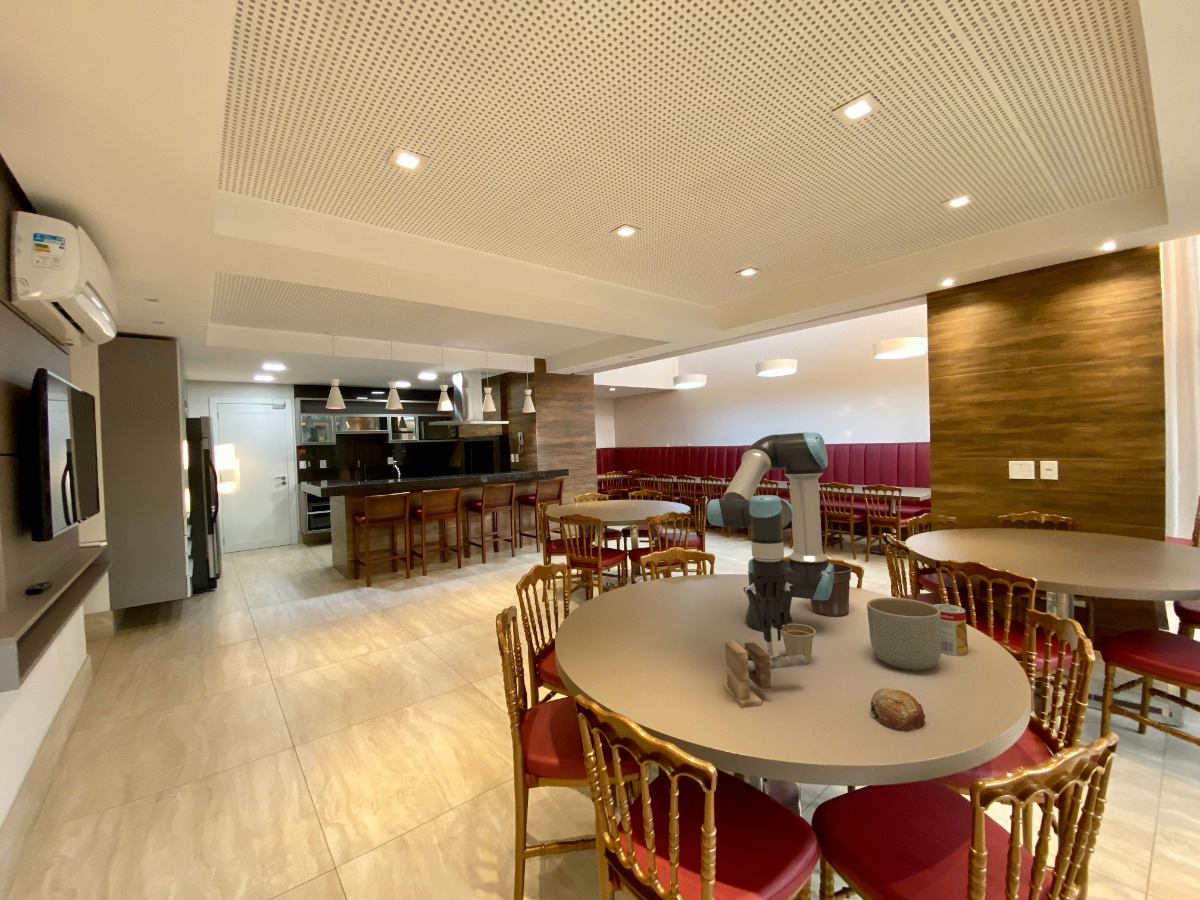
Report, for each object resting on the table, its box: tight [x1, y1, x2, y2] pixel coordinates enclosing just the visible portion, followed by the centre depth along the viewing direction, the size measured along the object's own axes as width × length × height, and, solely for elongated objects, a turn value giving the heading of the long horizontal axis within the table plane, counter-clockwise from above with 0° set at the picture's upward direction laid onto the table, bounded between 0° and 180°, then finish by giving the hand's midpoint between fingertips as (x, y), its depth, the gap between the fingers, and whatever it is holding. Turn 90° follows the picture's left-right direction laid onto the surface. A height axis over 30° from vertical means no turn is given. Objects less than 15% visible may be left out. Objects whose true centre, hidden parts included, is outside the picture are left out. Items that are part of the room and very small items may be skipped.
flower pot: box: [780, 623, 816, 665], centre depth 135 cm, size 9×9×9 cm
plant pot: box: [809, 562, 853, 617], centre depth 174 cm, size 16×16×16 cm
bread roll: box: [870, 687, 926, 732], centre depth 104 cm, size 10×10×8 cm
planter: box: [866, 597, 942, 672], centre depth 130 cm, size 17×17×15 cm
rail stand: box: [723, 640, 806, 709], centre depth 118 cm, size 19×10×12 cm, turn 99°
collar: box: [744, 641, 772, 691], centre depth 117 cm, size 2×8×8 cm, turn 9°
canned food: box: [933, 603, 969, 657], centre depth 137 cm, size 8×8×12 cm
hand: (773, 654), depth 118 cm, fingers closed
